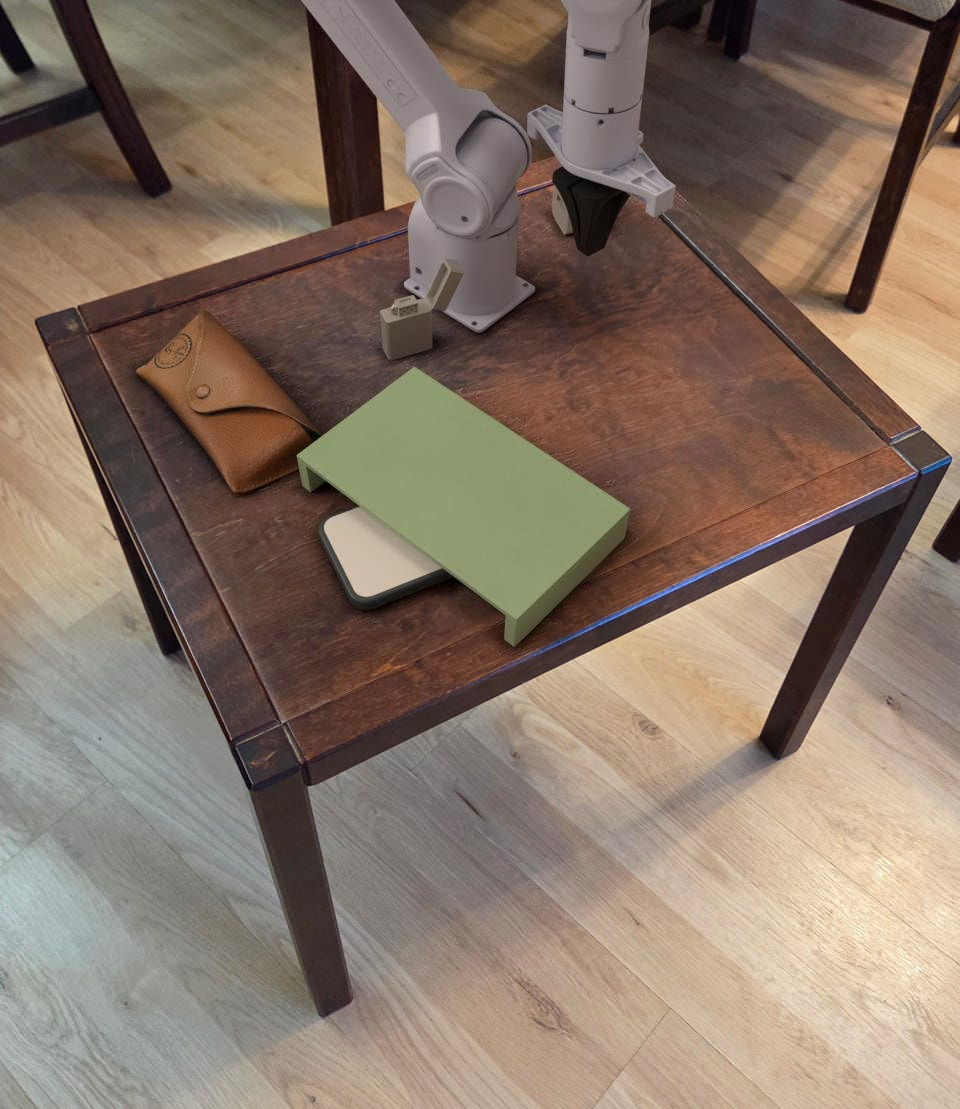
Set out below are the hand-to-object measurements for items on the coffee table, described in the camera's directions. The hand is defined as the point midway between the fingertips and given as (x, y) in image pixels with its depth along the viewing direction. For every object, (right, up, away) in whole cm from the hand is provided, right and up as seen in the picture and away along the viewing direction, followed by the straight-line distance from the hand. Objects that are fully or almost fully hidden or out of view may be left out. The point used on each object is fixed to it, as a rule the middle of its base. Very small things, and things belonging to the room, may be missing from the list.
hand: (591, 248), depth 88 cm
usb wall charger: (+2, +7, +16) cm, 18 cm away
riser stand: (-11, -22, -6) cm, 25 cm away
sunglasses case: (-30, -14, 0) cm, 33 cm away
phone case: (-13, -24, -7) cm, 28 cm away
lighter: (-14, -7, +5) cm, 17 cm away
